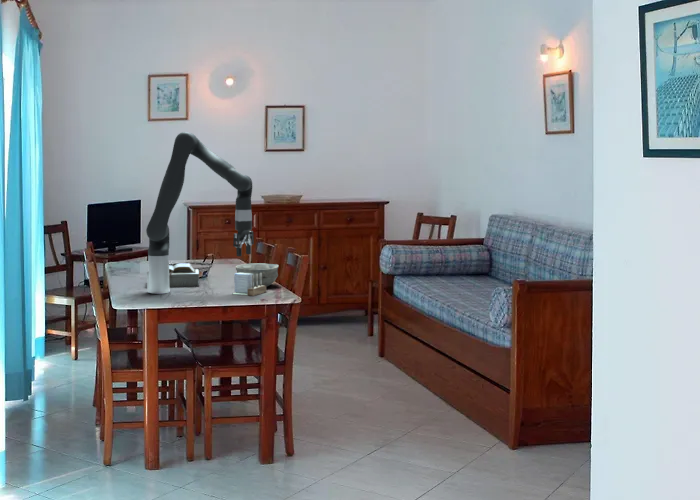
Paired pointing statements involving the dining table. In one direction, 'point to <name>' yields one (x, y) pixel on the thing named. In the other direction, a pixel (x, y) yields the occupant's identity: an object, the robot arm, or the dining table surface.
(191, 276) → the grey rectangular bin
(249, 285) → the medicine box
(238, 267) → the bowl
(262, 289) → the pin strip
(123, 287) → the dining table surface
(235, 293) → the pad
